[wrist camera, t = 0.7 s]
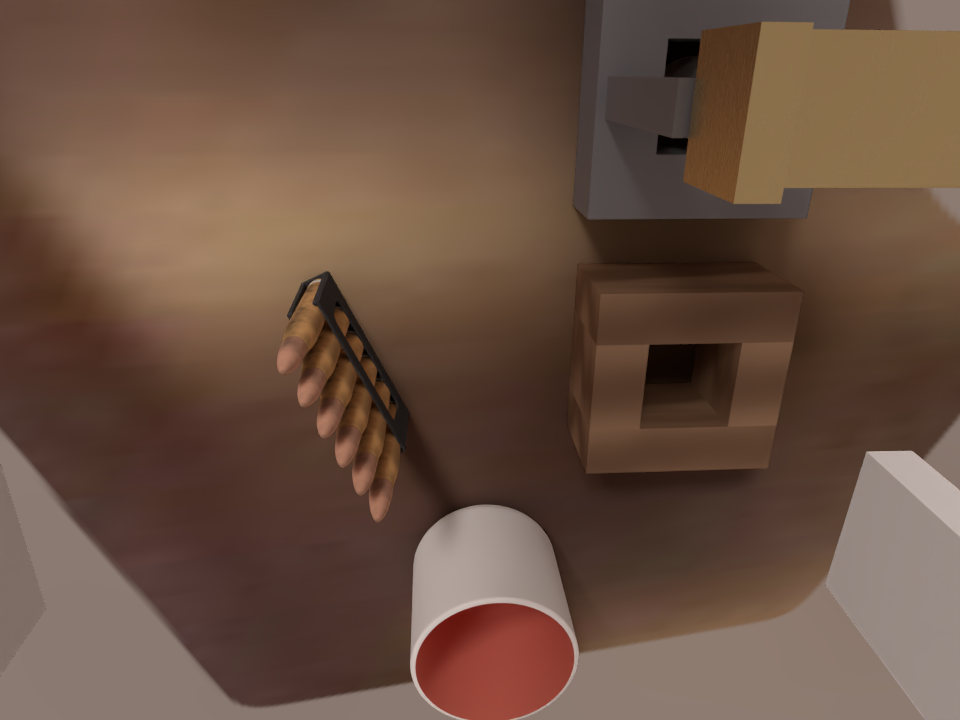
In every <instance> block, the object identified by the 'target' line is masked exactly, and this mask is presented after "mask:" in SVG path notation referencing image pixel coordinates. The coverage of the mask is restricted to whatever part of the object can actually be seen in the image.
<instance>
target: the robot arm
mask: <svg viewBox="0 0 960 720" xmlns="http://www.w3.org/2000/svg"><path fill="white" fill-rule="evenodd" d="M825 586H826V587H827V588H828V590H829V591H830V592H831V594H832V595H833V596H834V598H835V599H836V600H837V602H838V603H839V604H840V606H841V607H842V609H843V610H844V611H845V613H846V614H847V615H848V617H849V618H850V619H851V621H853V623H854V625H855V626H856V627H857V629H858V630H859V631H860V633H861V634H862V635H863V637H864V638H865V639H866V641H867V642H868V644H869V645H870V646H871V648H872V649H873V650H874V652H875V653H876V654H877V655H878V657H879V658H880V660H881V661H882V662H883V664H884V665H885V666H886V668H887V669H888V670H889V672H890V673H891V675H892V676H893V677H894V679H895V680H896V681H897V683H898V684H899V685H900V687H901V688H902V689H903V691H904V692H905V693H906V695H907V696H908V697H909V699H910V700H911V702H912V703H913V704H914V705H915V707H916V708H917V710H918V711H919V712H920V714H921V715H922V716H923V718H924V719H925V720H960V490H959V489H958V488H956V487H955V486H954V485H953V484H951V483H950V482H949V481H948V480H947V479H945V478H944V477H943V476H942V475H941V474H939V473H938V472H937V471H936V470H935V469H933V468H932V467H931V466H930V465H928V464H927V463H926V462H925V461H924V460H923V459H921V458H920V457H919V456H918V455H917V454H915V453H914V452H913V451H872V452H866V455H865V458H864V462H863V465H862V468H861V471H860V474H859V478H858V481H857V484H856V487H855V490H854V494H853V497H852V500H851V503H850V506H849V510H848V513H847V516H846V519H845V522H844V526H843V529H842V532H841V535H840V538H839V542H838V545H837V548H836V551H835V554H834V557H833V561H832V564H831V567H830V570H829V573H828V577H827V580H826V583H825ZM45 610H46V606H45V603H44V600H43V596H42V593H41V590H40V587H39V584H38V580H37V577H36V574H35V571H34V568H33V565H32V562H31V559H30V555H29V552H28V549H27V546H26V542H25V539H24V536H23V533H22V530H21V527H20V523H19V520H18V517H17V514H16V511H15V507H14V504H13V501H12V498H11V495H10V492H9V488H8V485H7V482H6V479H5V476H4V473H3V469H2V466H1V465H0V676H1V674H2V673H3V671H4V670H5V669H6V667H7V666H8V664H9V663H10V661H11V660H12V658H13V657H14V655H15V654H16V652H17V651H18V649H19V648H20V646H21V645H22V644H23V642H24V640H25V639H26V638H27V636H28V635H29V633H30V632H31V630H32V629H33V627H34V626H35V624H36V623H37V621H38V620H39V619H40V617H41V616H42V614H43V613H44V611H45Z"/></svg>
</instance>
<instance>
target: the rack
mask: <svg viewBox="0 0 960 720" xmlns="http://www.w3.org/2000/svg"><path fill="white" fill-rule="evenodd" d="M803 294H804V291H802V290H801V289H799V288H797V287H795V286H794V285H792V284H790V283H789V282H787V281H785V280H784V279H782V278H780V277H779V276H777V275H775V274H773V273H772V272H770V271H768V270H767V269H765V268H763V267H762V266H760V265H758V264H757V263H755V262H730V263H626V264H578V267H577V282H576V297H575V311H574V326H573V341H572V356H571V371H570V386H569V401H568V415H567V426H568V429H569V431H570V434H571V436H572V439H573V442H574V444H575V447H576V449H577V452H578V454H579V457H580V460H581V462H582V465H583V467H584V470H585V473H586V474H592V473H624V472H657V471H690V470H723V469H756V468H768V464H769V459H770V454H771V450H772V445H773V440H774V435H775V430H776V425H777V420H778V416H779V411H780V406H781V401H782V396H783V391H784V386H785V382H786V377H787V372H788V367H789V362H790V357H791V352H792V347H793V343H794V338H795V333H796V328H797V323H798V318H799V313H800V309H801V304H802V299H803ZM658 344H697V345H696V352H695V359H694V366H693V373H692V379H691V383H651V384H645V377H646V368H647V360H648V351H649V345H658Z"/></svg>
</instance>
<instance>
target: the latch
mask: <svg viewBox="0 0 960 720" xmlns="http://www.w3.org/2000/svg"><path fill="white" fill-rule="evenodd" d="M813 25H814V22H756V23H749V24H742V25H735V26H729V27H722V28H715V29H708V30H702V33H701V41H700V49H699V57H698V65H697V73H696V81H695V89H694V97H693V105H692V113H691V122H690V130H689V138H688V146H687V154H686V162H685V170H684V178H683V182H685V183H687V184H689V185H692V186H694V187H696V188H699V189H701V190H703V191H705V192H708V193H710V194H712V195H714V196H717V197H719V198H721V199H724V200H726V201H728V202H730V203H733V204H781V201H782V196H783V190H784V188H960V31H907V30H836V29H813Z"/></svg>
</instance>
